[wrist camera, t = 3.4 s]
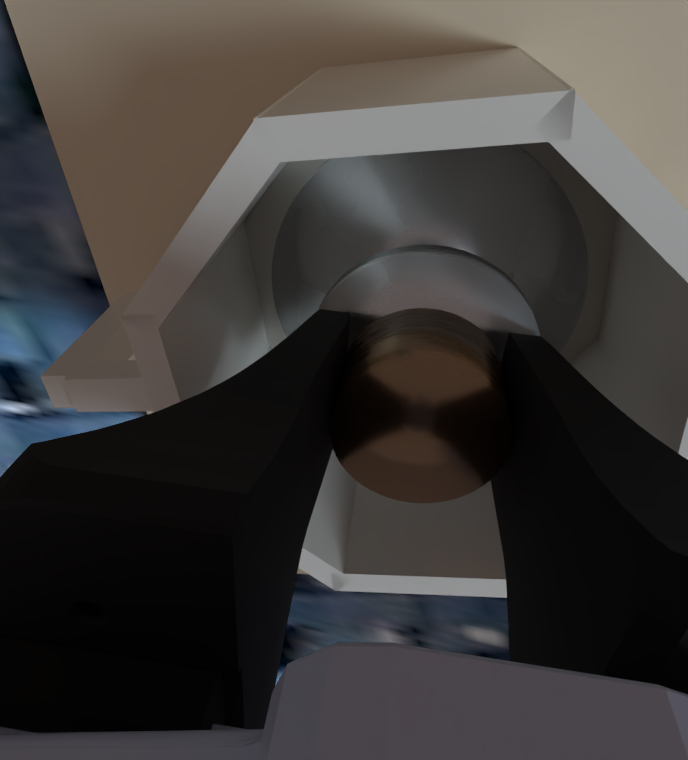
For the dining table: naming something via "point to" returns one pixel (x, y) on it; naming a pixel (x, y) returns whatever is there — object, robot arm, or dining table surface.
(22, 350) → the dining table surface
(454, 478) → the lid
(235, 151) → the press stand
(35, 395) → the dining table surface
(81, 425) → the dining table surface
